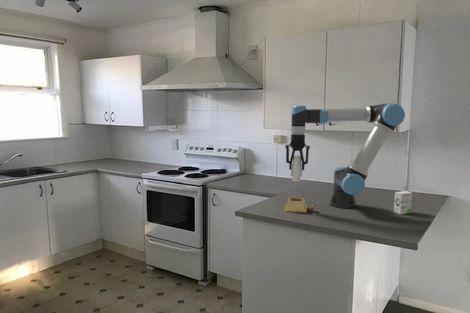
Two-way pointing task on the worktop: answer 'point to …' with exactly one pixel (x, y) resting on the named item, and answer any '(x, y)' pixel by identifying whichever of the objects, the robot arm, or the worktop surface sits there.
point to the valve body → (297, 205)
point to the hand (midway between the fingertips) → (296, 175)
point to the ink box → (402, 202)
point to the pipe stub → (296, 168)
